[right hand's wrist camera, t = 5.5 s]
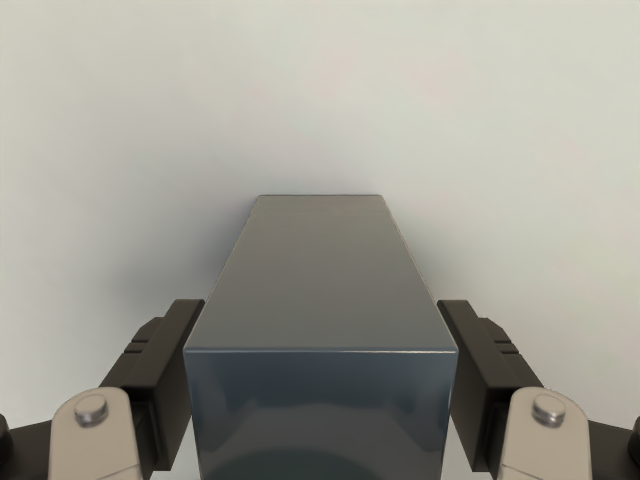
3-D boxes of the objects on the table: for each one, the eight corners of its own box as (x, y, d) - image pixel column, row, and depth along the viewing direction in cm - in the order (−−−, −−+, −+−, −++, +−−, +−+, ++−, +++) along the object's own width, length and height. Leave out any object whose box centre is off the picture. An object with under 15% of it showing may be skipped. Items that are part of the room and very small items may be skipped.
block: (376, 306, 18) (433, 543, 9) (264, 306, 18) (208, 543, 9) (382, 194, 16) (461, 349, 7) (258, 194, 16) (179, 349, 7)
